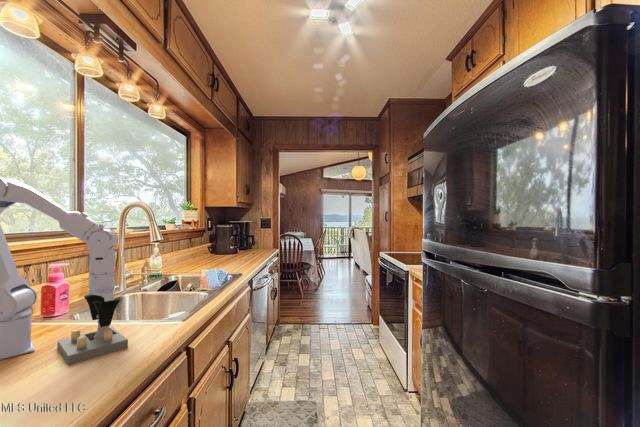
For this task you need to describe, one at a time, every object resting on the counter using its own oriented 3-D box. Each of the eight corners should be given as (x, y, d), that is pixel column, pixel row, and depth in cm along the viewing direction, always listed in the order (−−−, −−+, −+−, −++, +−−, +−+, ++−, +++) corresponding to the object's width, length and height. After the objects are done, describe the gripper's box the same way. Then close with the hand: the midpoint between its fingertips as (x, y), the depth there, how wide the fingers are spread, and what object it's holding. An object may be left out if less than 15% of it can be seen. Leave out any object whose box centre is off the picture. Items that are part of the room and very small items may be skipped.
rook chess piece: (109, 336, 83) (110, 308, 83) (115, 340, 80) (116, 311, 80) (90, 341, 79) (91, 312, 79) (96, 346, 77) (96, 315, 77)
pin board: (57, 348, 75) (57, 330, 75) (112, 334, 84) (112, 318, 84) (68, 364, 67) (68, 345, 67) (127, 347, 76) (128, 329, 76)
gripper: (128, 274, 78) (127, 324, 78) (111, 267, 87) (110, 313, 87) (95, 278, 73) (94, 332, 72) (81, 271, 82) (80, 319, 82)
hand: (101, 322), depth 79 cm, fingers open, 7 cm apart
